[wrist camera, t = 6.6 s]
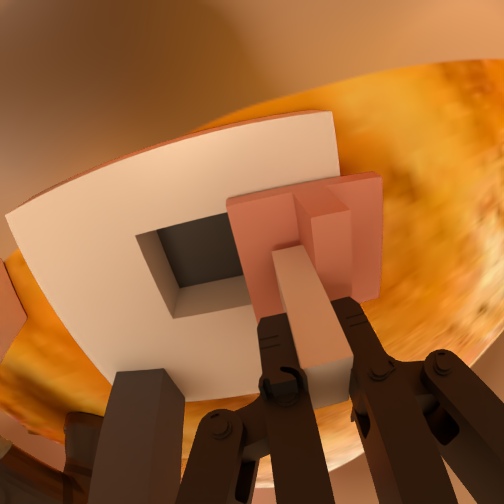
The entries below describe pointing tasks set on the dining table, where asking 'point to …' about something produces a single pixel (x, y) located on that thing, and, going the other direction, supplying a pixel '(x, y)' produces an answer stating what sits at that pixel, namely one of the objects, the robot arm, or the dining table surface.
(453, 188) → the dining table surface
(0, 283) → the milk carton
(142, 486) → the plug
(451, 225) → the dining table surface
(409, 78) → the dining table surface
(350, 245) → the salmon red stepped block
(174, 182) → the socket plate
